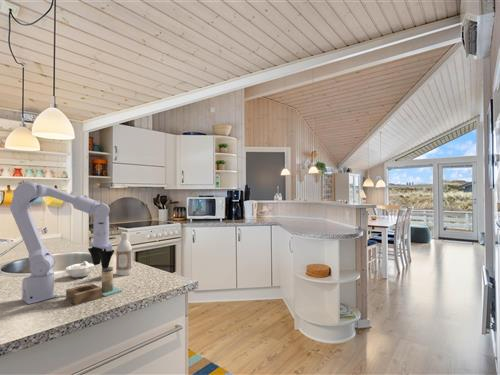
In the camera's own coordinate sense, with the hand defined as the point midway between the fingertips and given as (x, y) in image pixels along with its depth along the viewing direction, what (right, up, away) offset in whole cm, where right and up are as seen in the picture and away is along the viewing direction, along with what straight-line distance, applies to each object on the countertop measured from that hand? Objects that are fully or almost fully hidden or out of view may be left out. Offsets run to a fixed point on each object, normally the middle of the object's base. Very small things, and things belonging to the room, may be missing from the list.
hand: (100, 266), depth 117 cm
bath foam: (0, -10, +23) cm, 25 cm away
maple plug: (+3, -9, -2) cm, 10 cm away
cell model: (-19, -10, +18) cm, 28 cm away
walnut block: (-2, -10, -8) cm, 13 cm away
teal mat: (+4, -10, -1) cm, 11 cm away
